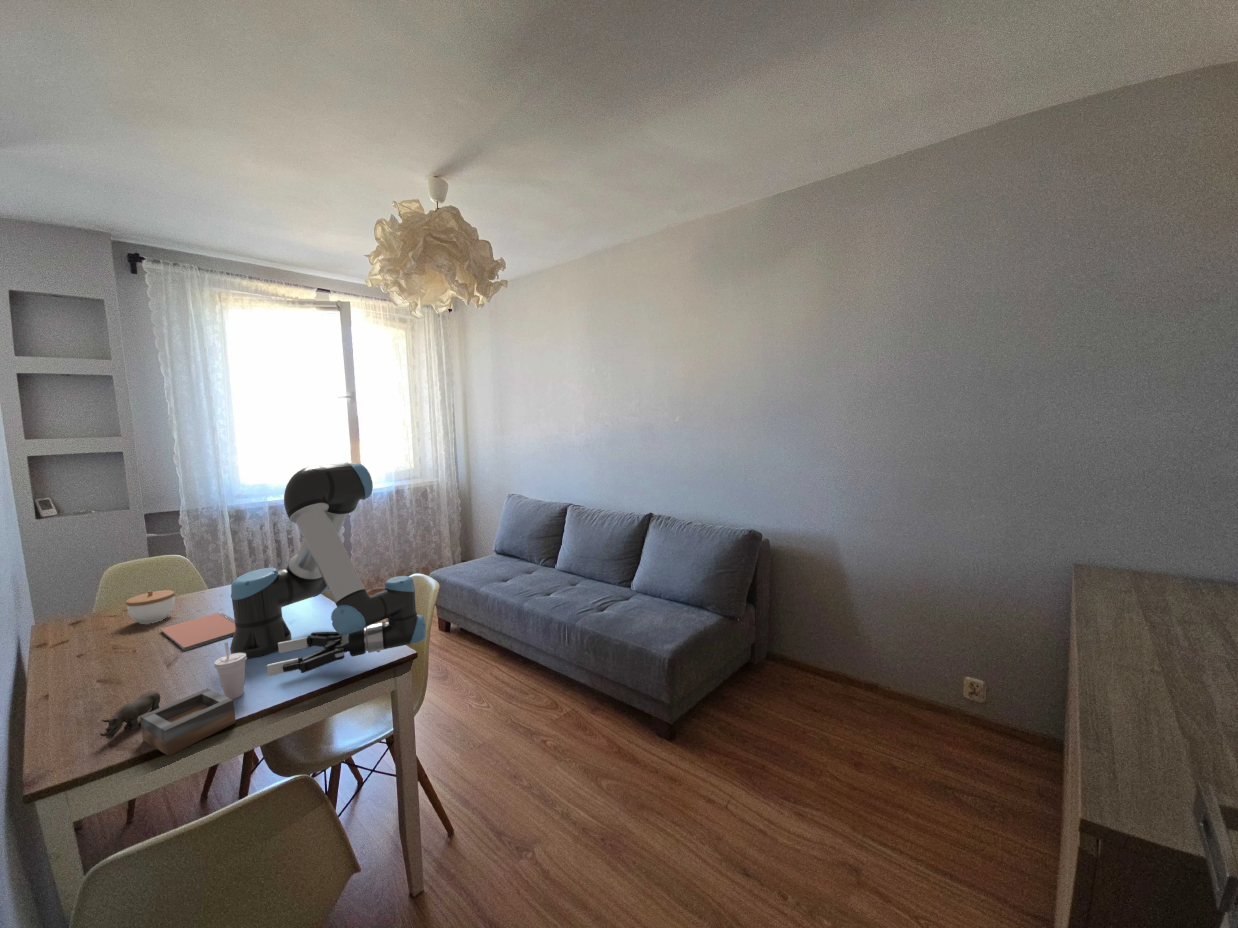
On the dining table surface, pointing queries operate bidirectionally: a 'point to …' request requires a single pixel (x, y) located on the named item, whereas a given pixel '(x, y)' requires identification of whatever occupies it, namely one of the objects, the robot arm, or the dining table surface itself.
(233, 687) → the smoothie
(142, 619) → the lidded bowl
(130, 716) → the rhino figurine
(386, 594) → the robot arm
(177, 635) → the notebook
